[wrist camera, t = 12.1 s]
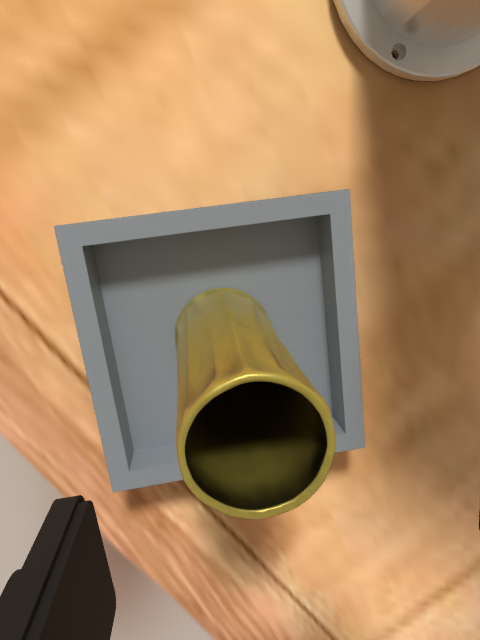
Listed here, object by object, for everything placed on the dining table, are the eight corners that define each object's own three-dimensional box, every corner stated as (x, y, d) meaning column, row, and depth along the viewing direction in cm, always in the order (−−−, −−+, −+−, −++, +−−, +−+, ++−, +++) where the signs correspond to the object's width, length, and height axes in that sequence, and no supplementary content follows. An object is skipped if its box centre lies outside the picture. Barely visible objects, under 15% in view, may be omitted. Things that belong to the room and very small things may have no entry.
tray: (329, 192, 27) (349, 189, 24) (345, 422, 31) (365, 447, 28) (71, 225, 26) (54, 226, 23) (121, 461, 30) (112, 492, 27)
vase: (253, 389, 29) (315, 546, 15) (163, 366, 28) (139, 514, 14) (282, 302, 28) (378, 386, 14) (189, 275, 27) (191, 336, 13)
